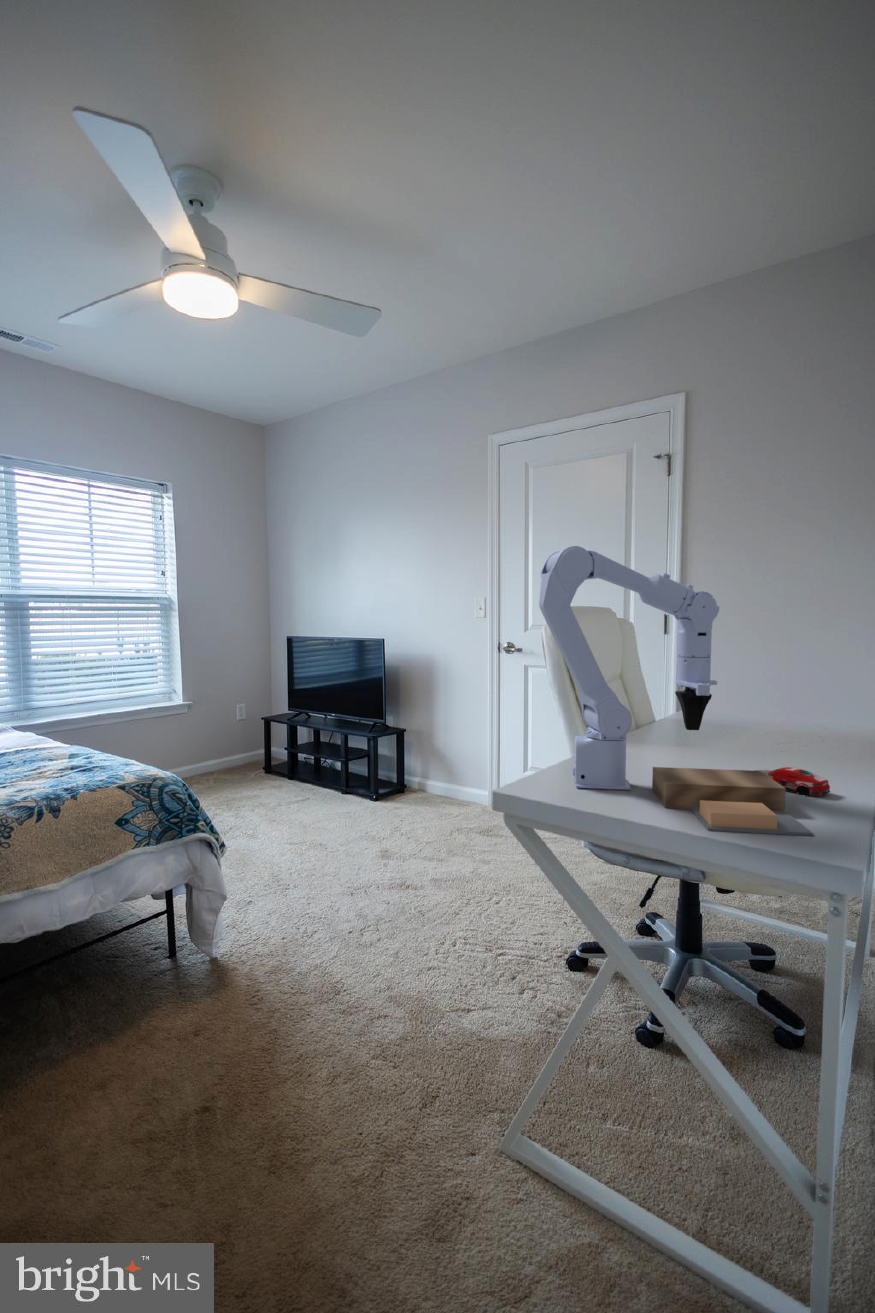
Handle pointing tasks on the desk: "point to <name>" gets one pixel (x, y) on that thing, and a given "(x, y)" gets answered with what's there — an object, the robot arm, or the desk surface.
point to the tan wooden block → (738, 814)
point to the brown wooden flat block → (715, 787)
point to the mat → (784, 826)
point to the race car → (799, 781)
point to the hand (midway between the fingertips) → (692, 729)
